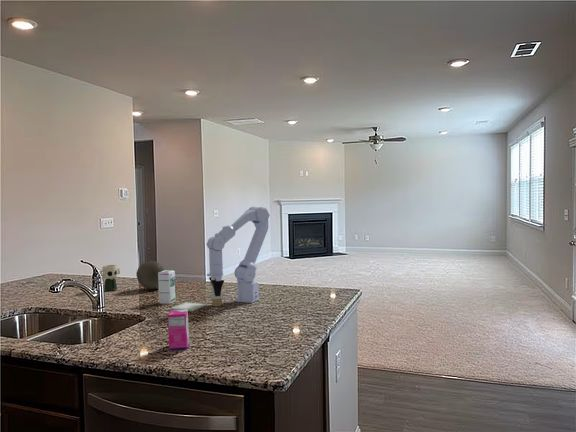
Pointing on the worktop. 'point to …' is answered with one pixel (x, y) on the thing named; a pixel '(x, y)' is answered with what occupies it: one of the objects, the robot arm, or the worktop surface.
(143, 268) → the cantaloupe
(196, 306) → the green white square tile
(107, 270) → the character mug
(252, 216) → the robot arm
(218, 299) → the sprinkles bottle
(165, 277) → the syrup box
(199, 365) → the worktop surface
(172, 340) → the supplement box
